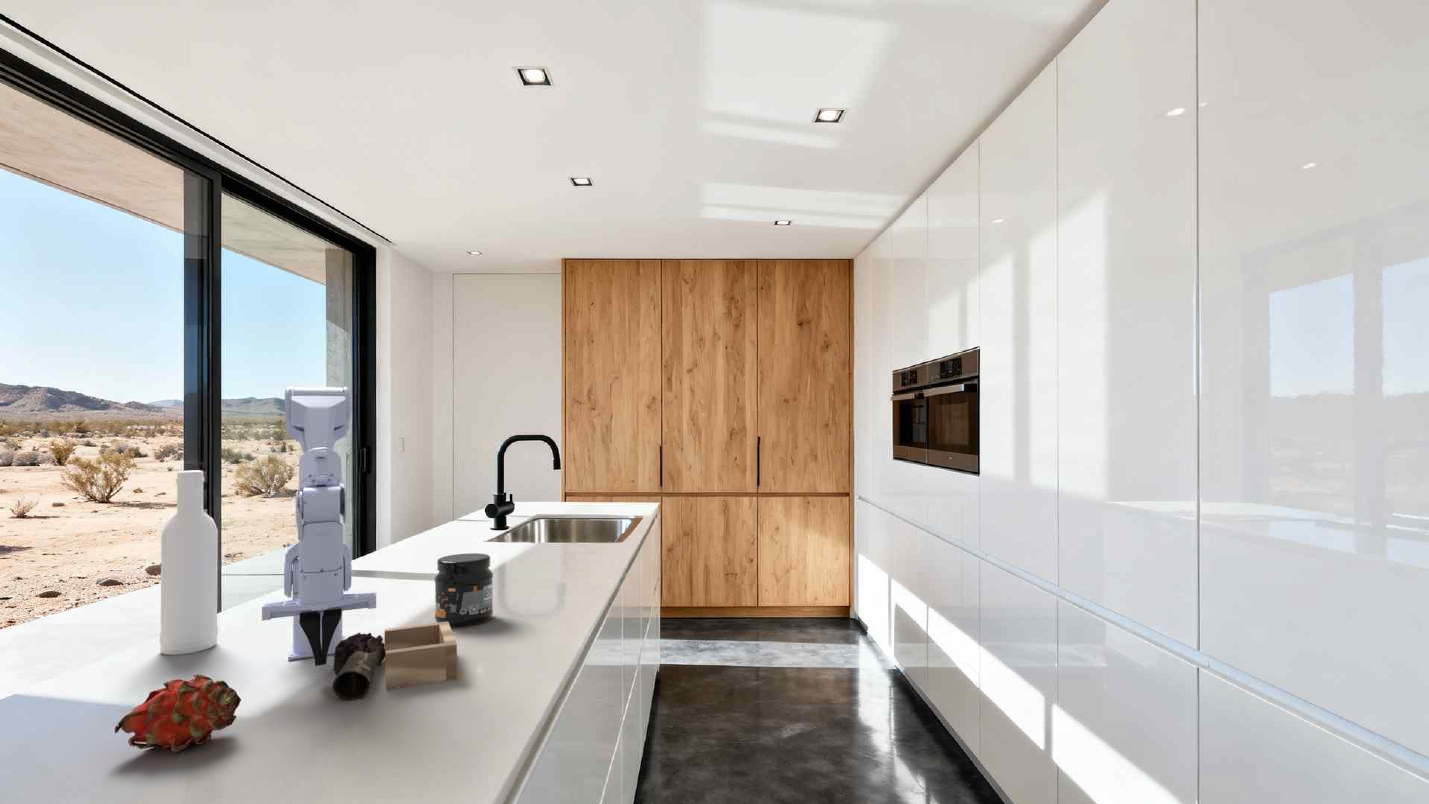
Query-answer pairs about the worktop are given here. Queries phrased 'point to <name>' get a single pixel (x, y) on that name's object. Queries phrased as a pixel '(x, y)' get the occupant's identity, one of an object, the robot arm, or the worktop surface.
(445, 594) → the supplement container
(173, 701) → the dragon fruit
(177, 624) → the bottle
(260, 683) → the worktop surface
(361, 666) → the metal pipe
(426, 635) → the light wooden open box
